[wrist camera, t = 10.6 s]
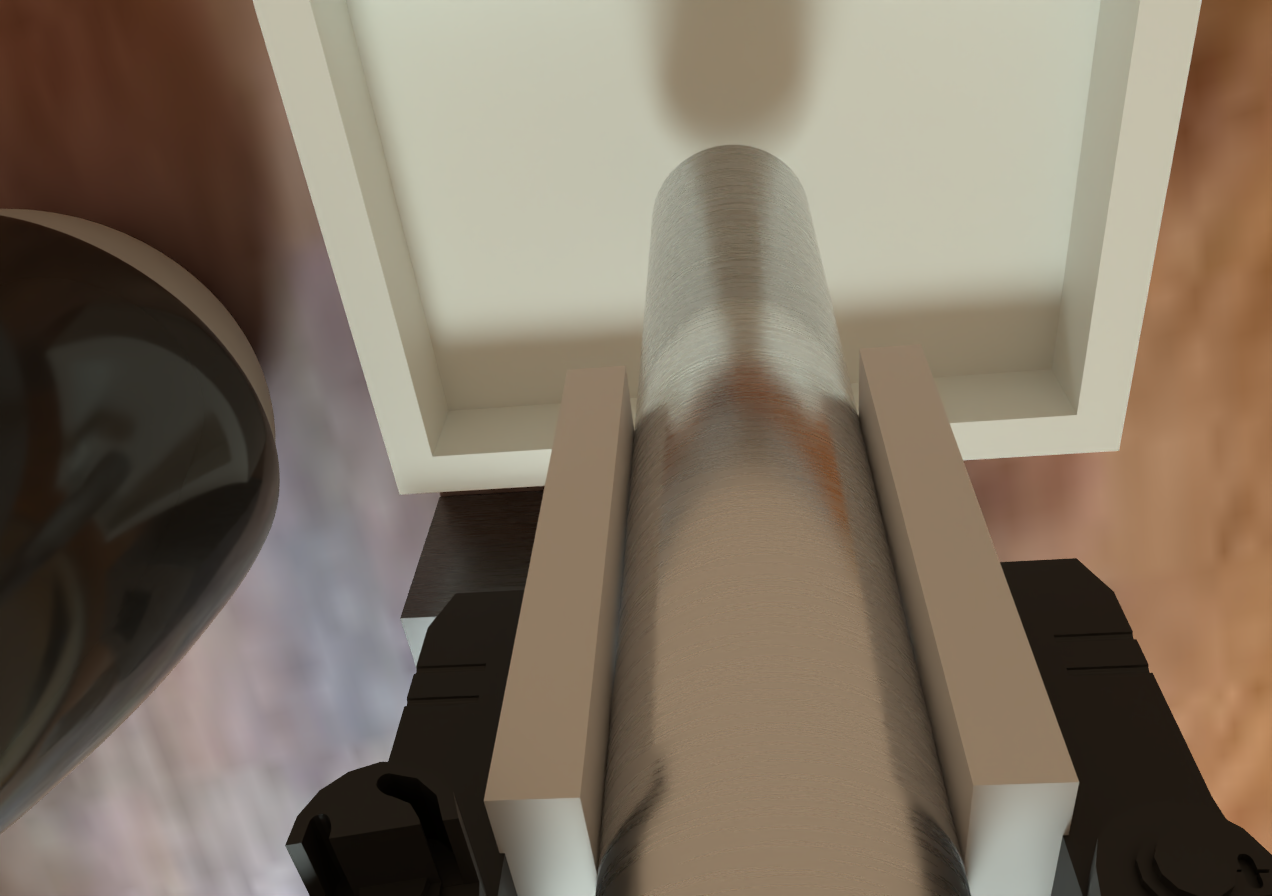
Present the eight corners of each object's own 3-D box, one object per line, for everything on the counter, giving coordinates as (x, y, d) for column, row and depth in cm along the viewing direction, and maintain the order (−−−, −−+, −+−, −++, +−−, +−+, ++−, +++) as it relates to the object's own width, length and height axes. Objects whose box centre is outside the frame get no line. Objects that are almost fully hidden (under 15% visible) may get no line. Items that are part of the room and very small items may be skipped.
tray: (422, 434, 26) (399, 494, 24) (278, -99, 20) (229, -77, 18) (1084, 389, 25) (1118, 450, 23) (1176, -207, 18) (1237, -197, 16)
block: (502, 727, 33) (477, 856, 29) (439, 497, 27) (400, 618, 24) (896, 712, 31) (923, 845, 28) (907, 468, 26) (942, 591, 23)
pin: (646, 312, 21) (552, 1483, 7) (626, 137, 19) (439, 1289, 5) (826, 299, 21) (1099, 1503, 7) (824, 119, 19) (1209, 1304, 5)
